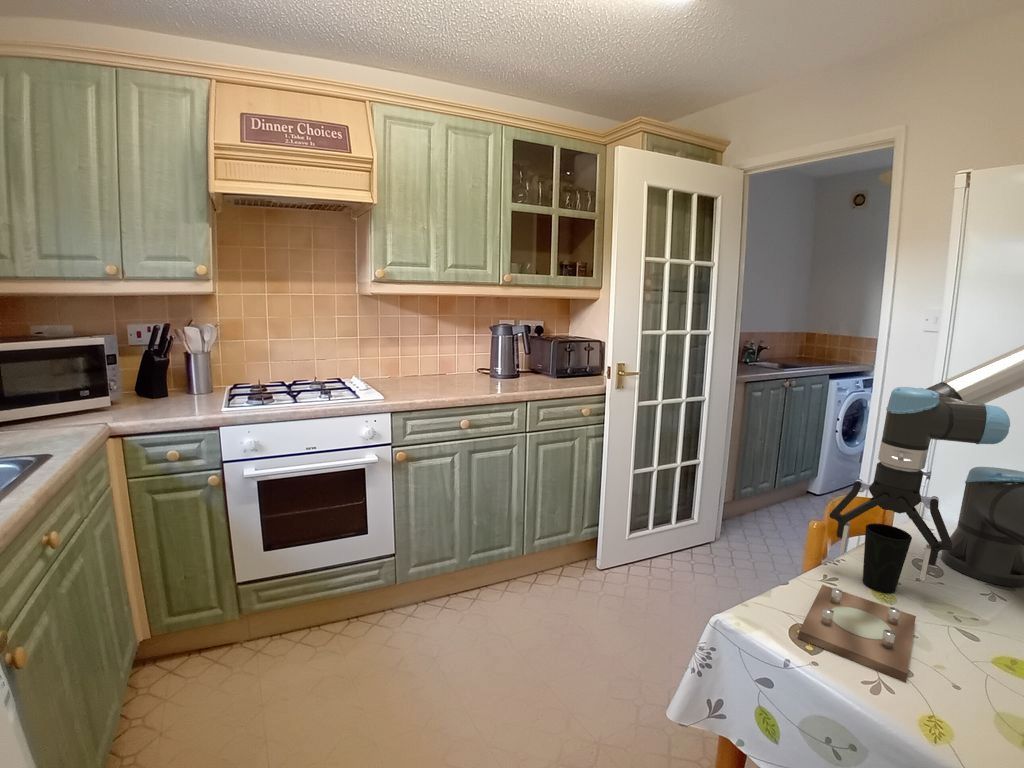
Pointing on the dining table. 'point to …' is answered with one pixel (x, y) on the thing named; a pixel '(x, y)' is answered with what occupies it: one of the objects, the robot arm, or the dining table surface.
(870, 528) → the cup
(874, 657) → the stub board
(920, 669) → the dining table surface
